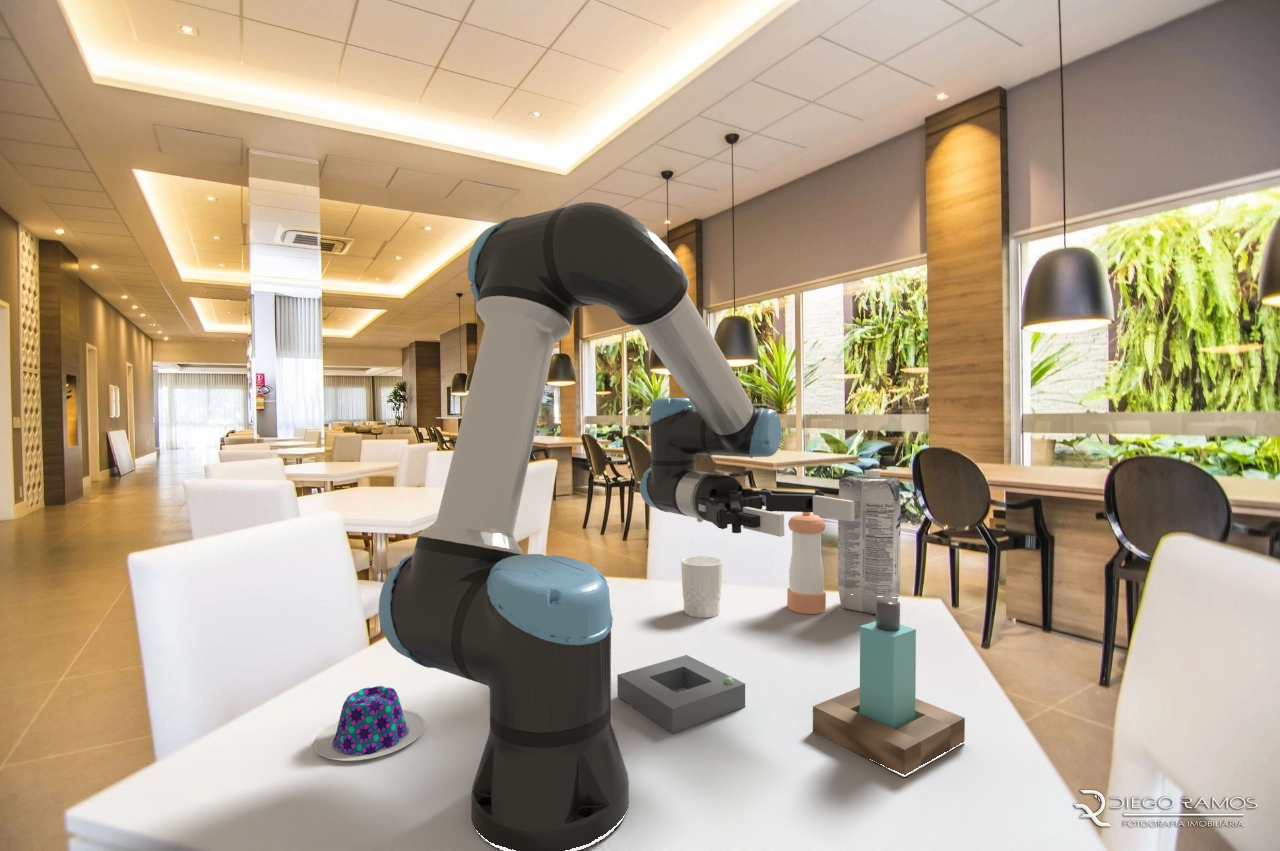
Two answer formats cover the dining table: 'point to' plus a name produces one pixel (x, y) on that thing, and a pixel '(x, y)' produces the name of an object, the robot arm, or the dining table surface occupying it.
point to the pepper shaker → (806, 565)
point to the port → (685, 709)
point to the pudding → (369, 726)
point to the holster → (889, 732)
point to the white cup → (701, 585)
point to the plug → (888, 667)
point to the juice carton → (869, 542)
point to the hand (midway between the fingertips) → (819, 518)
